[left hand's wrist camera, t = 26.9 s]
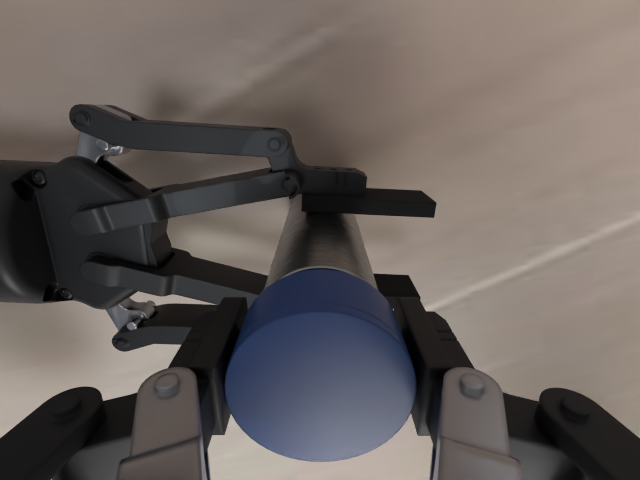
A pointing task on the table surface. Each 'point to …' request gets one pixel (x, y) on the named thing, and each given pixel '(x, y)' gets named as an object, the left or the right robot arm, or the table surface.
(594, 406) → the left robot arm
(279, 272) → the metal thermos flask
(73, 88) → the table surface
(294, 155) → the right robot arm
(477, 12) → the table surface
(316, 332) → the lid
